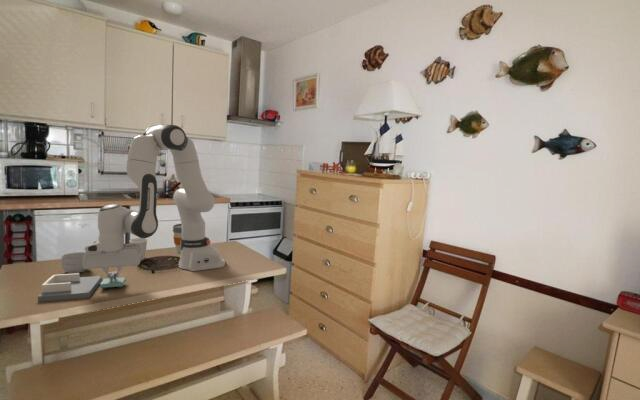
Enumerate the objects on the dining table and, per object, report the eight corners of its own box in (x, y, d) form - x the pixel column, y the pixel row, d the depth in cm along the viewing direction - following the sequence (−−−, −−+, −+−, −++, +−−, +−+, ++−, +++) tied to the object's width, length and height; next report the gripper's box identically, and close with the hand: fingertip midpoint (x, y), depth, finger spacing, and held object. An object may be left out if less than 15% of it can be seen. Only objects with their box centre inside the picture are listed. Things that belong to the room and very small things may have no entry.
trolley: (125, 282, 143) (125, 270, 142) (122, 288, 138) (122, 275, 137) (104, 284, 141) (103, 271, 140) (100, 290, 135) (99, 277, 134)
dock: (101, 280, 145) (101, 269, 145) (89, 297, 129) (88, 285, 128) (57, 283, 140) (56, 271, 139) (38, 301, 123) (37, 288, 122)
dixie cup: (130, 256, 178) (130, 238, 176) (148, 255, 181) (147, 237, 180) (129, 261, 170) (128, 242, 169) (147, 260, 174) (147, 241, 172)
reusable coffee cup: (199, 248, 198) (199, 224, 196) (191, 255, 185) (191, 228, 183) (178, 247, 198) (178, 222, 196) (168, 254, 185) (168, 227, 183)
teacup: (57, 272, 152) (56, 255, 151) (83, 265, 161) (82, 249, 160) (74, 278, 145) (73, 261, 144) (100, 271, 155) (99, 255, 154)
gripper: (141, 241, 143) (142, 272, 145) (85, 243, 136) (86, 276, 138) (139, 245, 137) (140, 277, 139) (79, 247, 130) (81, 281, 132)
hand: (113, 276), depth 139 cm, fingers closed on trolley
